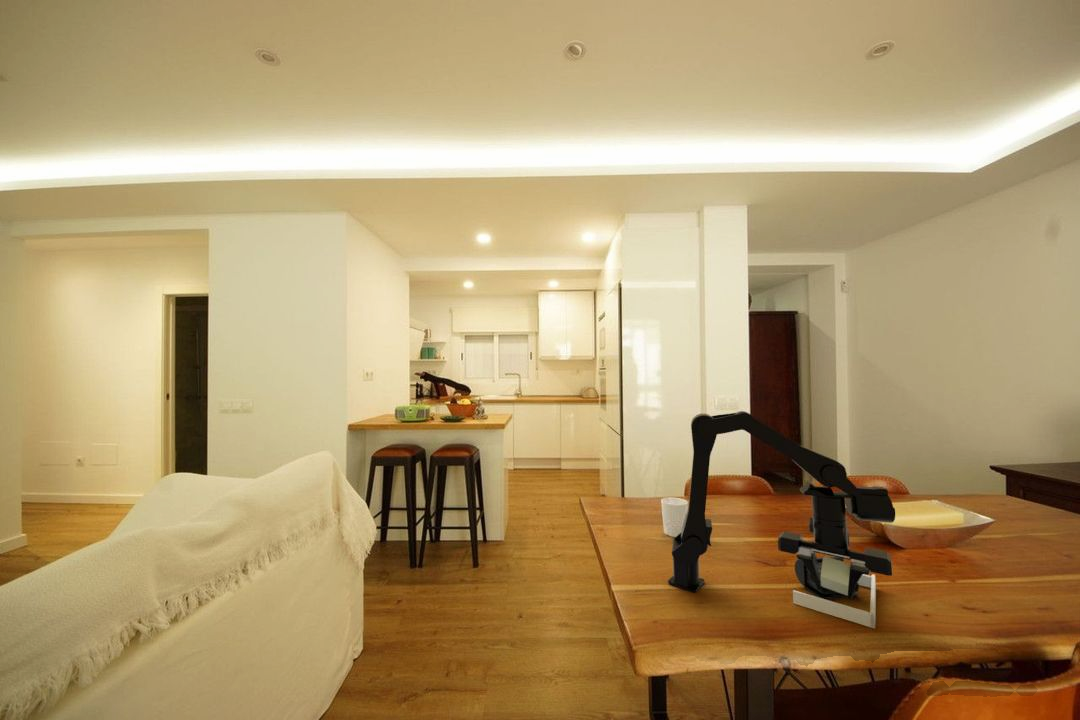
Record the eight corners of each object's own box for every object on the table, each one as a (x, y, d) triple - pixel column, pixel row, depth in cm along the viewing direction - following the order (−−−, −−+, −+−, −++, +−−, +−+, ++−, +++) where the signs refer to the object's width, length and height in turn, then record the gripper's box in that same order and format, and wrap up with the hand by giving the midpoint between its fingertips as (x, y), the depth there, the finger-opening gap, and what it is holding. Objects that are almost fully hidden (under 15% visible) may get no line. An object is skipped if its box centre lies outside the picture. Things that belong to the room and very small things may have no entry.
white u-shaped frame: (875, 628, 73) (874, 612, 74) (793, 603, 82) (792, 588, 82) (875, 588, 88) (875, 574, 88) (806, 570, 97) (805, 558, 97)
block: (847, 595, 79) (848, 585, 76) (820, 586, 82) (820, 576, 79) (849, 574, 82) (850, 564, 79) (823, 565, 84) (823, 555, 82)
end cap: (833, 581, 92) (832, 551, 92) (861, 597, 84) (859, 565, 85) (794, 583, 91) (793, 554, 91) (819, 600, 83) (817, 568, 84)
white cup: (684, 540, 116) (683, 506, 116) (658, 534, 120) (657, 501, 121) (691, 532, 122) (690, 500, 122) (667, 527, 127) (666, 496, 127)
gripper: (887, 516, 81) (894, 593, 80) (784, 500, 94) (789, 566, 93) (888, 531, 73) (895, 617, 72) (775, 511, 85) (779, 585, 84)
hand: (834, 593), depth 80 cm, fingers closed on block, 5 cm apart
